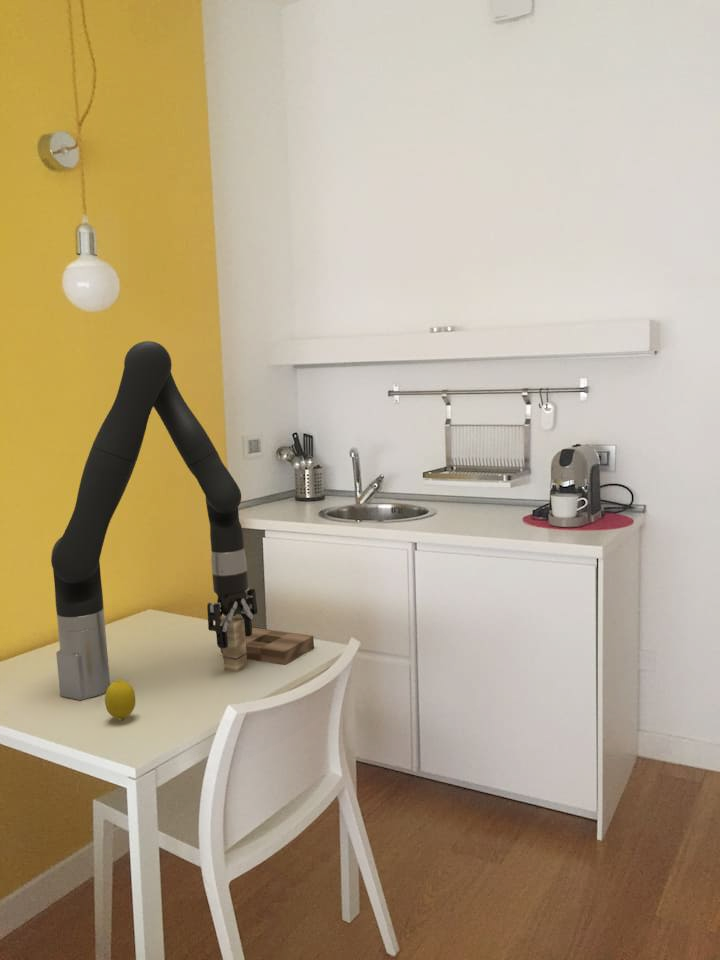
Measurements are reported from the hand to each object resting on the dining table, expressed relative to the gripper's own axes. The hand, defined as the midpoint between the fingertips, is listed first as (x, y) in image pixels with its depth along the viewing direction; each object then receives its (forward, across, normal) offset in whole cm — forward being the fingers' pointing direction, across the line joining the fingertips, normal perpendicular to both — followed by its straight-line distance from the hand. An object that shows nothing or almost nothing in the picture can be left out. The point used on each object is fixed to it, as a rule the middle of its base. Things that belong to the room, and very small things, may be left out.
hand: (235, 641), depth 182 cm
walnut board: (+6, +12, 0) cm, 13 cm away
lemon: (+6, -31, +3) cm, 32 cm away
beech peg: (+6, 0, 0) cm, 6 cm away
